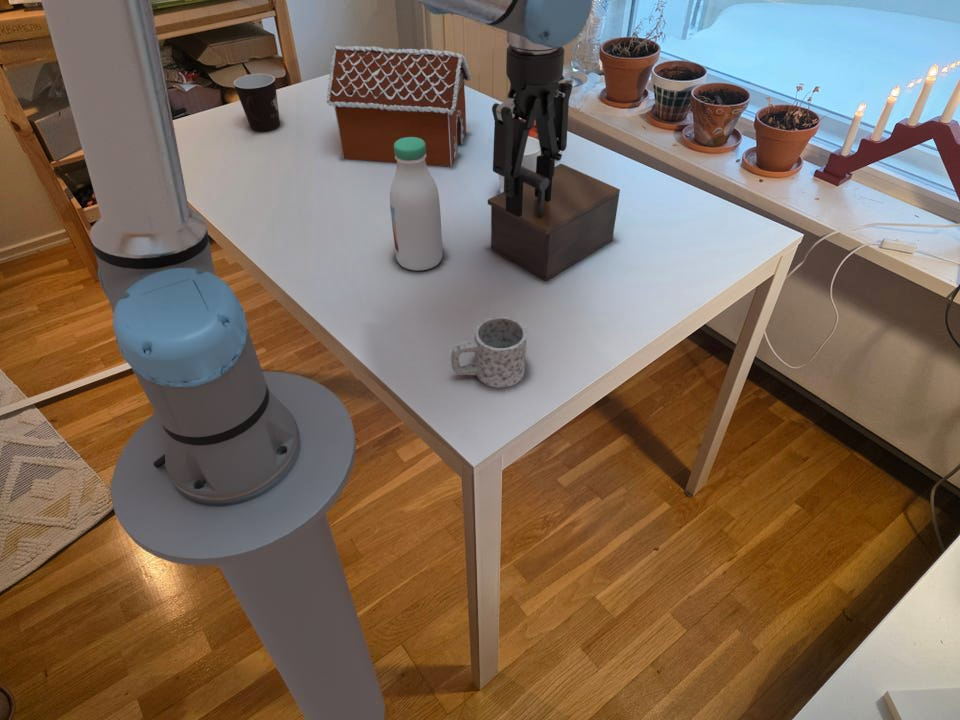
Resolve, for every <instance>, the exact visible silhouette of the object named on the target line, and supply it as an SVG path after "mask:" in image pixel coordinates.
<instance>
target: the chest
mask: <svg viewBox="0 0 960 720" xmlns="http://www.w3.org/2000/svg"><path fill="white" fill-rule="evenodd" d="M619 199H620V193H619V194H618V195H616V196H615V197H613V198H611V199H609V200H607V201H606V202H604V203H602V204H600V205H599V206H597V207H595V208H593V209H591V210H590V211H588V212H586V213H584V214H583V215H581V216H579V217H577V218H576V219H574V220H572V221H570V222H568V223H567V224H565V225H563V226H561V227H560V228H558V229H556V230H554V231H552V232H551V233H549V234H547V235H545V234H543V233H541V232H539V231H538V230H536V229H534V228H532V227H530V226H528V225H526V224H524V223H522V222H521V221H519V220H517V219H515V218H513V217H511V216H509V215H507V214H505V213H504V212H502V211H500V210H498V209H496V208H494V207H492V206H490V210H491V211H490V240H491V241H490V250H492V251H493V252H495V253H497V254H499V255H501V256H503V257H504V258H506V259H507V260H509V261H511V262H512V263H514V264H516V265H518V266H519V267H521V268H523V269H525V270H526V271H528V272H530V273H532V274H533V275H535V276H537V277H538V278H540V279H541V280H544V281H545V282H547V281H549V280H550V279H553V278H554V277H555V276H557V275H559V274H560V273H562V272H564V271H565V270H567V269H568V268H570V267H572V266H574V265H575V264H577V263H579V262H580V261H582V260H584V259H585V258H587V257H588V256H590V255H592V254H593V253H595V252H597V251H598V250H600V249H601V248H603V247H605V246H607V245H608V244H610V243H611V242H613V240H614V233H615V225H616V220H617V214H618V207H619V206H618V205H619Z"/></svg>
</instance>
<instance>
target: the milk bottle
mask: <svg viewBox="0 0 960 720" xmlns="http://www.w3.org/2000/svg"><path fill="white" fill-rule="evenodd" d="M394 153H395V159H396V160H397V163H396V169H395V173H394V176H393V178H392V181H391V184H390V189H389V207H390V209H389V210H390V218H391V226H392V227H391V228H392V234H393V243H394V250H395V251H394V253H395V259H396V261H397V262H398V264H399V265H400V266H401V267H402V268H404V269H406V270H409V271H410V270H411V271H425V270H430V269H432V268H434V267H436V266H438V265H439V264H440V263H441V261H442V259H443V256H444V253H443V252H444V251H443V250H444V248H443V234H442V233H443V232H442V230H443V229H442V217H441V216H442V215H441V203H440V195H439V190H438V185H437V184H436V181H435V179H434V177H433V176H432V174H431V171H430V170H429V168H428V165H426V162H425V158H426V145H425V142H424V141H423V140H422V139H420V138H416V137H406V138H401V139H399V140H397V141H396V142H395V143H394Z"/></svg>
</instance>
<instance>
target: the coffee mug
mask: <svg viewBox="0 0 960 720" xmlns="http://www.w3.org/2000/svg"><path fill="white" fill-rule="evenodd" d="M233 86H234V88H235V89H234V90H235V91H236V93H237V96H238V99H239V101H240V104H241V106H242V110H243V112H244V114H245V116H246V119H247V122H248V124H249V127H250V129H251V131H253V132H255V133H269V132H273V131H275V130H277V129H278V128H280V126H281V122H280V113H279V112H280V111H279V103H278V94H277V85H276V77H275V76H274V75H272V74H269V73H251V74H246V75H242V76H239V77H238V78H236V79H235V80H234V81H233Z"/></svg>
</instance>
